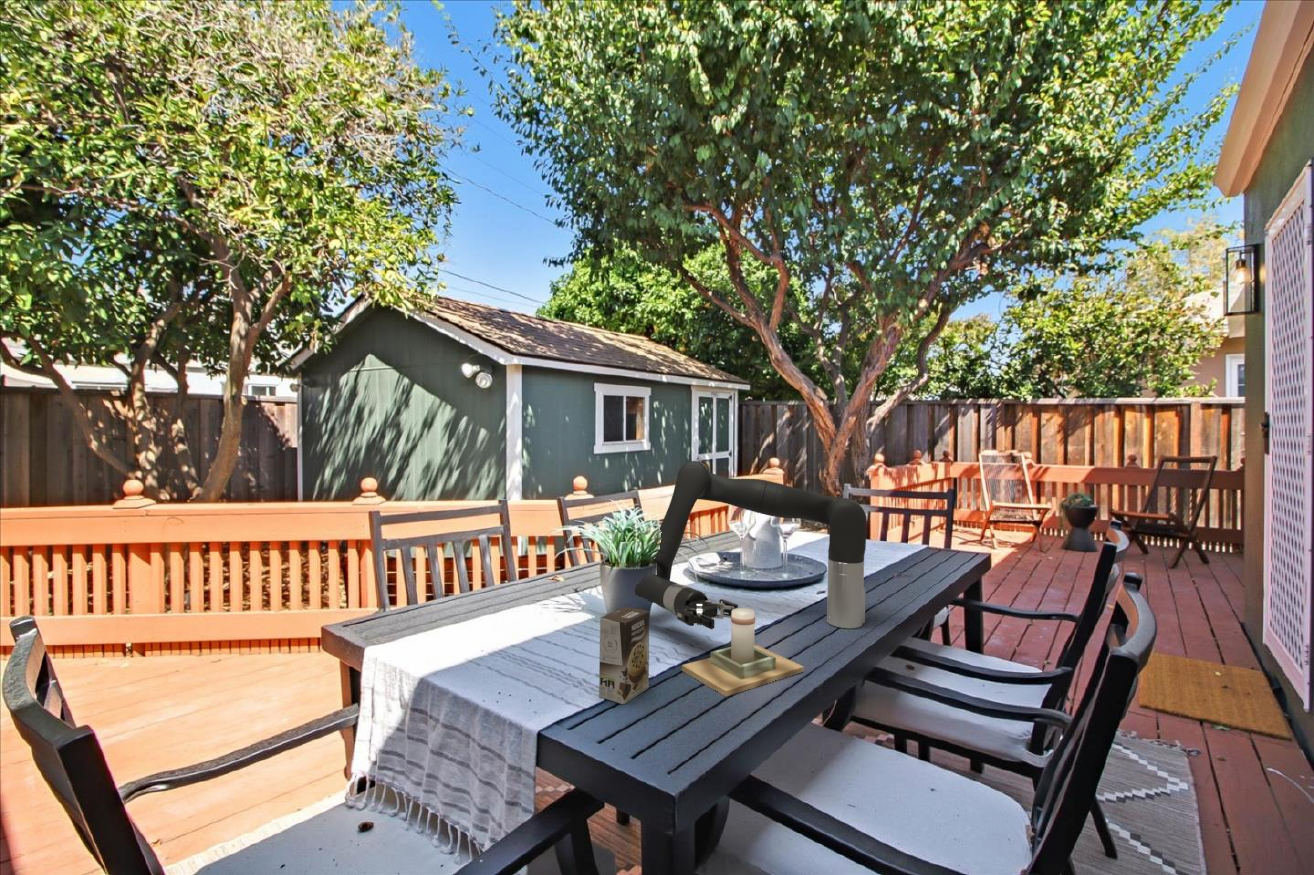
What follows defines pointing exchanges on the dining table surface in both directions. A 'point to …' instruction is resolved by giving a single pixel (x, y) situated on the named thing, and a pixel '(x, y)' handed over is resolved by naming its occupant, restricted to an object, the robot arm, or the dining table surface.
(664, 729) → the dining table surface
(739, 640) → the cream lidded bottle
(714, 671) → the end holder
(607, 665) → the coffee box
